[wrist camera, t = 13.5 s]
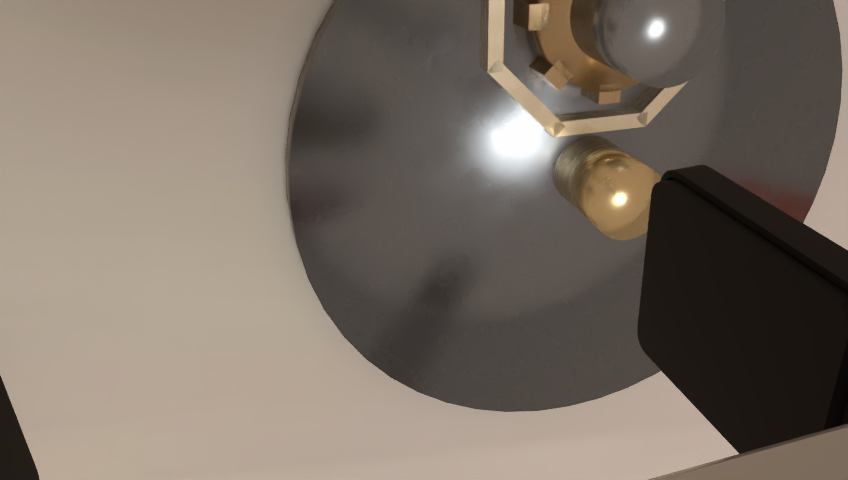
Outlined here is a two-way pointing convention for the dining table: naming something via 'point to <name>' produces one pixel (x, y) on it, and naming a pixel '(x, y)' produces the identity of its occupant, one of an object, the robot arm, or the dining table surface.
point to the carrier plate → (525, 186)
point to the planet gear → (620, 42)
